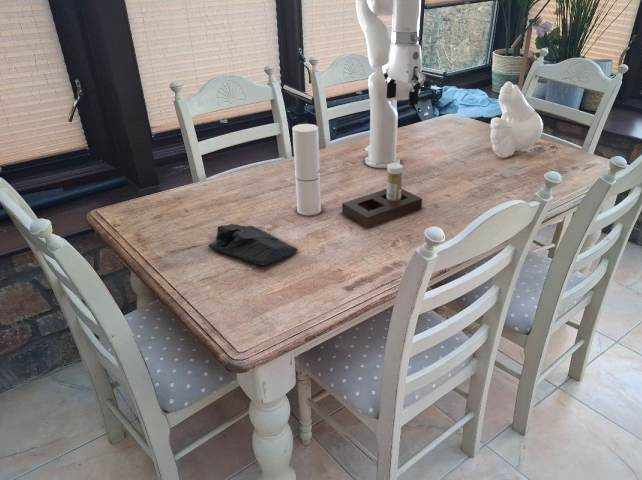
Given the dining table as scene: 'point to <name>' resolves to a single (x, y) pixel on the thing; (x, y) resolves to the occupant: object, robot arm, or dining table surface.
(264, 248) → the folded black cloth
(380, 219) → the peg block
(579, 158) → the dining table surface
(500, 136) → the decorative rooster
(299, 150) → the cylindrical container
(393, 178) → the sprinkles bottle
